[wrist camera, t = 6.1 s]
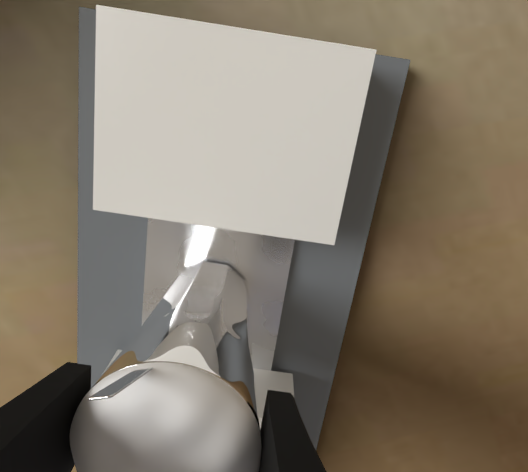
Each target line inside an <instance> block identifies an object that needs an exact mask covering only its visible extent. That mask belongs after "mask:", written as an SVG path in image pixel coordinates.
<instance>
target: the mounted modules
mask: <svg viewBox="0 0 528 472" xmlns="http://www.w3.org/2000/svg"><path fill="white" fill-rule="evenodd" d="M375 54H376V50H375V49H369V48H363V47H357V46H350V45H344V44H338V43H332V42H325V41H319V40H313V39H307V38H301V37H294V36H288V35H282V34H276V33H269V32H263V31H257V30H251V29H245V28H238V27H232V26H226V25H220V24H213V23H207V22H201V21H195V20H189V19H182V18H176V17H170V16H164V15H157V14H151V13H145V12H139V11H133V10H126V9H120V8H114V7H108V6H101V5H96V45H95V108H94V170H93V210H98V211H105V212H112V213H119V214H126V215H132V216H139V217H146V218H153V219H159V220H166V221H173V222H180V223H187V224H193V225H200V226H207V227H214V228H220V229H227V230H234V231H241V232H247V233H254V234H261V235H268V236H275V237H281V238H288V239H295V240H302V241H308V242H315V243H322V244H329V245H334V244H335V240H336V235H337V230H338V226H339V221H340V217H341V212H342V207H343V203H344V198H345V193H346V189H347V184H348V180H349V175H350V170H351V166H352V161H353V156H354V152H355V147H356V142H357V138H358V133H359V129H360V124H361V119H362V115H363V110H364V105H365V101H366V96H367V91H368V87H369V82H370V78H371V73H372V68H373V64H374V59H375ZM121 351H122V350H119V349H118V350H117V352H116V353H115V355H114V356H113V358H112V360H111V361H110V363H109V365H108V366H107V368H108V367H109V366H110V365H111V363H112V362H113V361H114V360H115V358H116V357H117V356H118V355H119V354H120V352H121ZM107 368H106V369H105V371H106V370H107ZM253 370H254V377H255V386H256V395H257V405H258V415H259V425H260V429H261V423H262V418H263V412H264V407H265V401H266V396H267V390H274V391H281V392H288V393H291V394H292V395H293V397H294V386H293V374H291V373H284V372H277V371H270V370H263V369H255V368H253ZM105 371H104V372H105Z"/></svg>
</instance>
